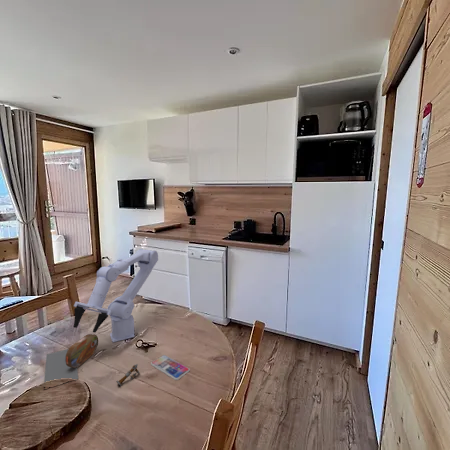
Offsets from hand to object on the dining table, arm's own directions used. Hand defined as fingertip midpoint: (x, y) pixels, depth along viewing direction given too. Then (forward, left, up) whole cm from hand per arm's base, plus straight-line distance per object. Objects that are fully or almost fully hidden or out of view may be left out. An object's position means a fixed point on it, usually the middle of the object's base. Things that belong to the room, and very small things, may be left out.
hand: (84, 329), depth 101 cm
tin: (+1, +1, -12) cm, 12 cm away
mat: (+8, +1, -12) cm, 15 cm away
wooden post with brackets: (-12, +21, -12) cm, 27 cm away
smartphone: (-27, +22, -13) cm, 37 cm away
